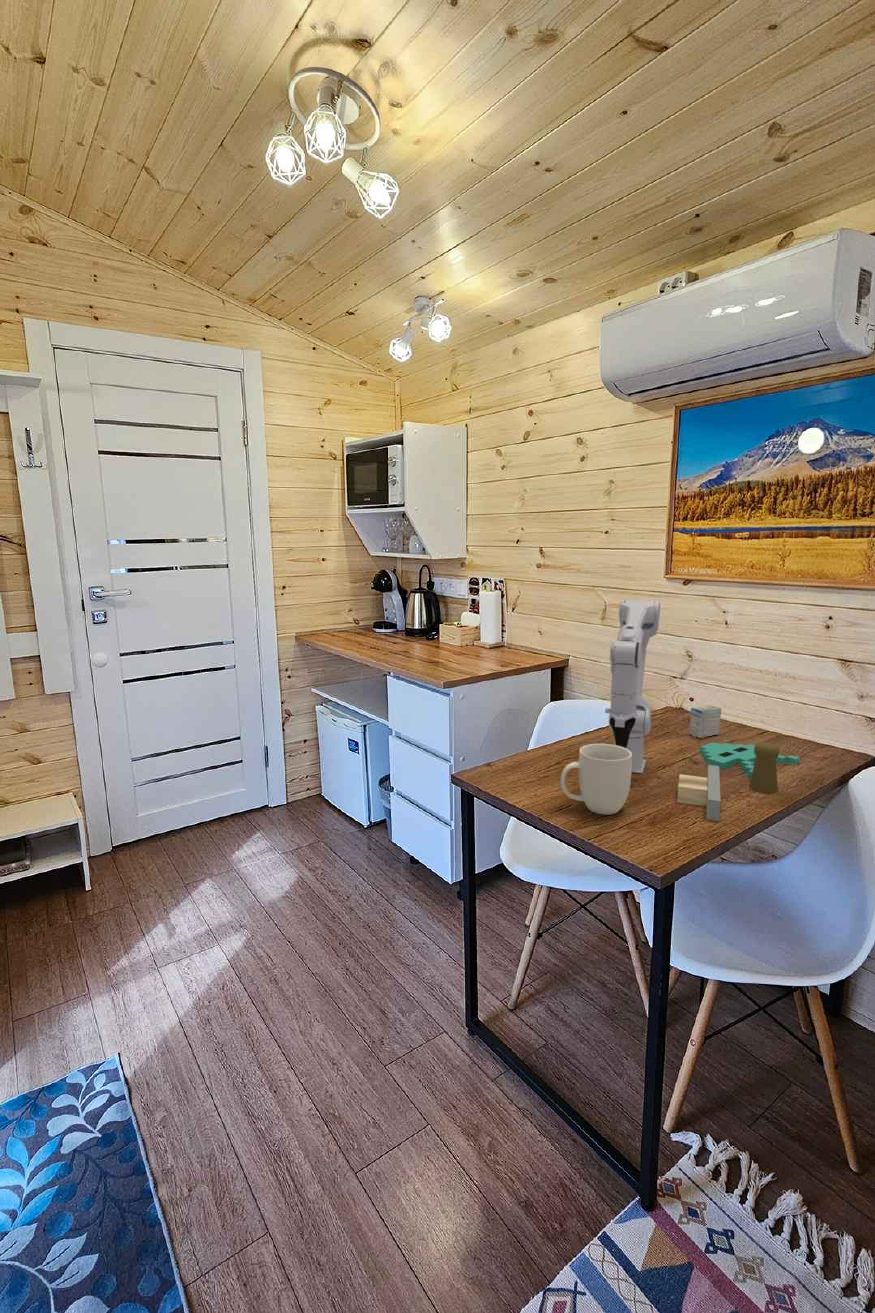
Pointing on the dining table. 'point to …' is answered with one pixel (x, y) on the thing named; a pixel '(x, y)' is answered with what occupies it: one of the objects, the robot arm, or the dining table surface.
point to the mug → (602, 777)
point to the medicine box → (705, 720)
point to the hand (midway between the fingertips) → (621, 748)
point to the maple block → (692, 790)
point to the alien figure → (736, 756)
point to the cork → (765, 768)
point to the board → (713, 793)
